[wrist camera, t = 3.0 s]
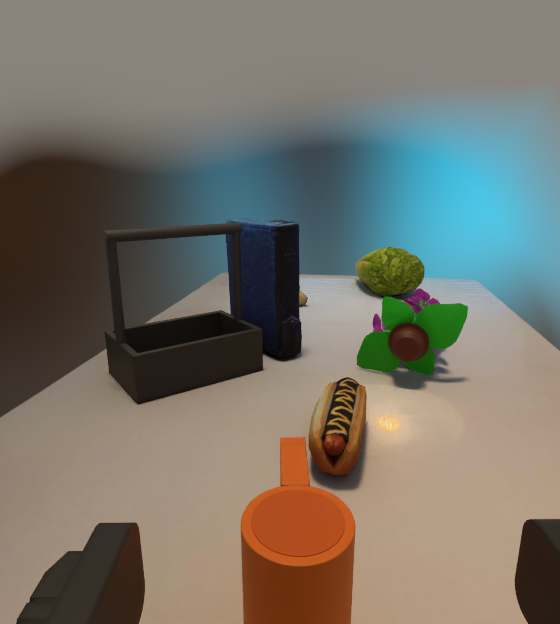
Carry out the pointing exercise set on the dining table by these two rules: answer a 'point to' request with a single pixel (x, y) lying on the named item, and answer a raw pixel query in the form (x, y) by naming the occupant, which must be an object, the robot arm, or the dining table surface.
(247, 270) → the book
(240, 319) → the basket
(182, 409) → the dining table surface
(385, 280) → the lettuce
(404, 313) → the potted plant
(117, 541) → the robot arm
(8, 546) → the dining table surface
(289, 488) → the measuring cup
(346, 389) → the hot dog
